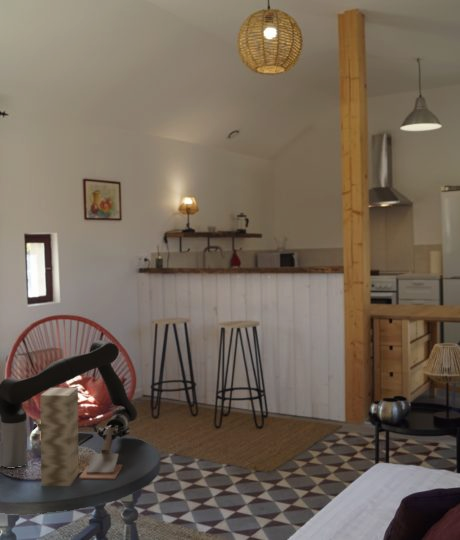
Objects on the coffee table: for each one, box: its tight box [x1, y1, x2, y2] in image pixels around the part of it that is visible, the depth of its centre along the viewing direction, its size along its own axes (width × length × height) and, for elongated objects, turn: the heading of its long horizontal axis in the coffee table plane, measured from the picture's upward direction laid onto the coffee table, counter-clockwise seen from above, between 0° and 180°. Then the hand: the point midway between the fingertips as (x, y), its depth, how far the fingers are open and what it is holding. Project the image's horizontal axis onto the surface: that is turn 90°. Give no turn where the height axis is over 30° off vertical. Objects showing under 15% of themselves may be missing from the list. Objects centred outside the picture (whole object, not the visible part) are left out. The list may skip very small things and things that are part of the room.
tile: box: [78, 464, 123, 480], centre depth 244 cm, size 13×14×1 cm
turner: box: [86, 428, 119, 474], centre depth 250 cm, size 10×23×2 cm, turn 179°
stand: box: [39, 387, 80, 487], centre depth 235 cm, size 10×12×32 cm
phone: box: [78, 432, 94, 447], centre depth 283 cm, size 8×1×15 cm
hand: (108, 437), depth 255 cm, fingers closed on turner, 2 cm apart
